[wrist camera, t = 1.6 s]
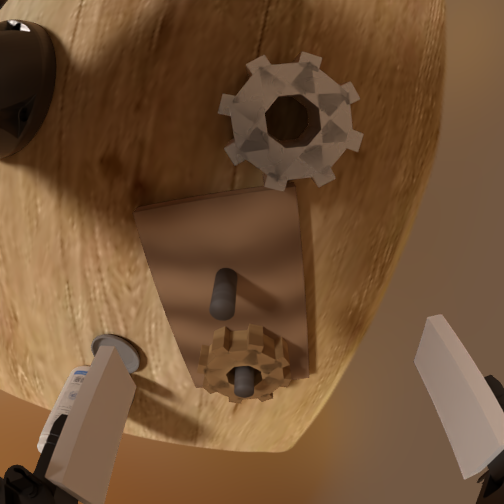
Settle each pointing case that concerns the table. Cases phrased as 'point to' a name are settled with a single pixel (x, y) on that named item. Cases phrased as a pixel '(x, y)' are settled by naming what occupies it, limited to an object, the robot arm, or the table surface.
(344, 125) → the steel gear
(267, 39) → the table surface
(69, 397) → the supplement tub
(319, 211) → the table surface
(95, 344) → the pocket watch
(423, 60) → the table surface
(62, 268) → the table surface
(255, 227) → the gear board
